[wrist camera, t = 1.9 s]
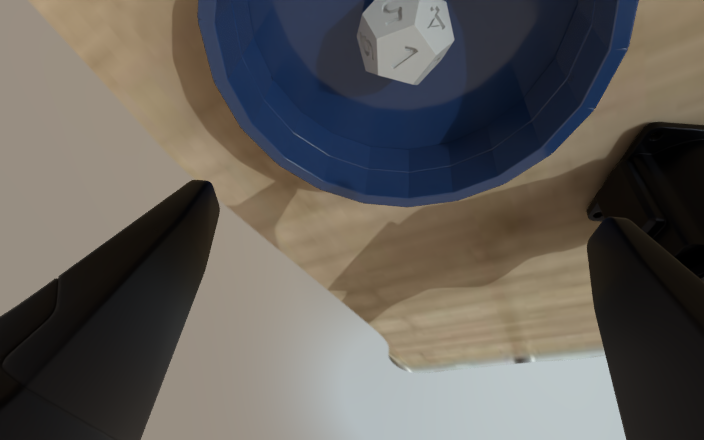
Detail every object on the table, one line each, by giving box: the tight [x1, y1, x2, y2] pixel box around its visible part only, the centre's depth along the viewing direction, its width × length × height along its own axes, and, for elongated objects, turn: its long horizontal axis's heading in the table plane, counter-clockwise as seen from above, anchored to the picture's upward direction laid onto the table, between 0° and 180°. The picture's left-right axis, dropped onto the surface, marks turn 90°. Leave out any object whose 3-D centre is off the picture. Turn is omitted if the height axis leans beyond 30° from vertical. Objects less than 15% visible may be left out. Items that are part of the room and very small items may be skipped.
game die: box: [357, 0, 454, 85], centre depth 15 cm, size 4×4×3 cm
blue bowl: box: [197, 0, 639, 207], centre depth 15 cm, size 14×14×4 cm
